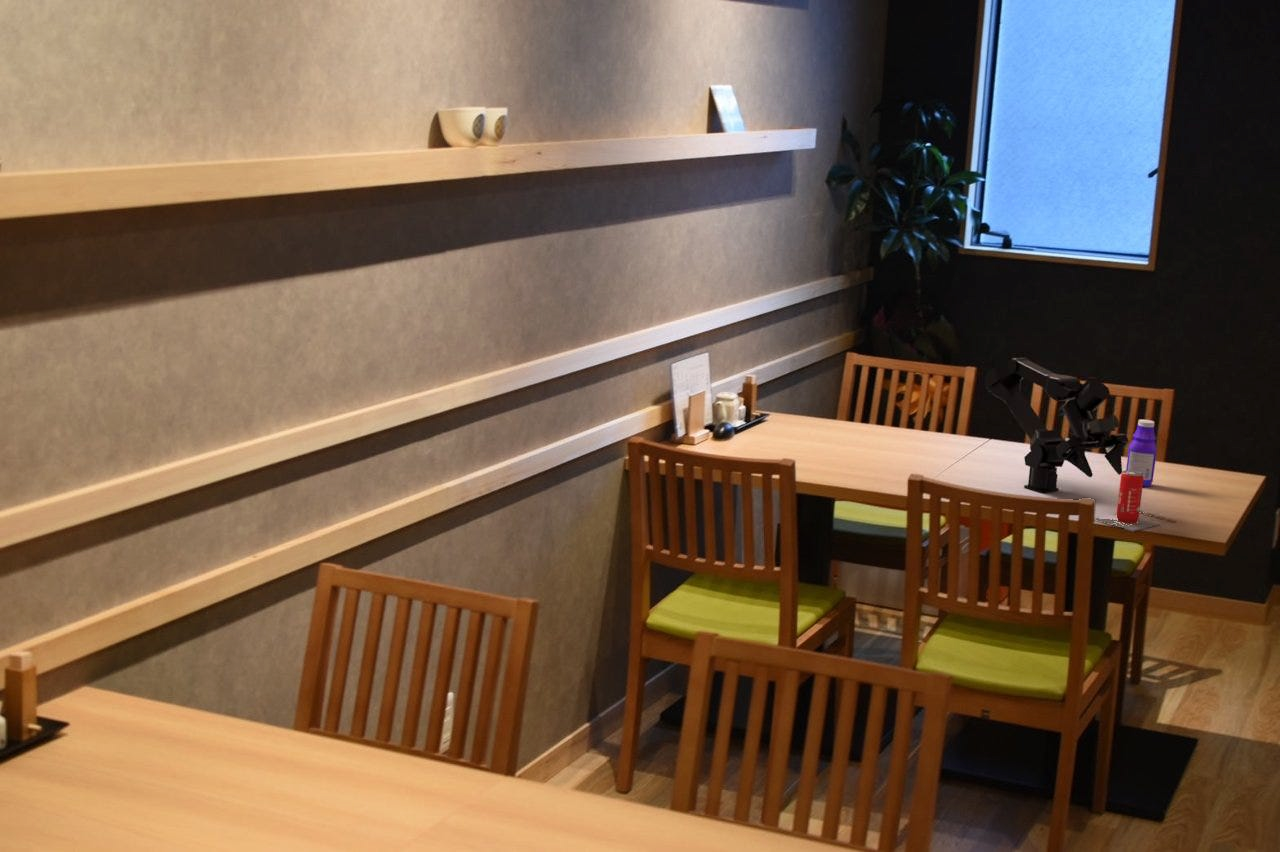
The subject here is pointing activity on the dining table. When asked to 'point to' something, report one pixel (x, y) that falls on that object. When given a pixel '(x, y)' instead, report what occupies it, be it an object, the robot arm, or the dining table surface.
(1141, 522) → the mat
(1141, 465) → the bottle
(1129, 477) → the beverage can
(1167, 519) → the line
